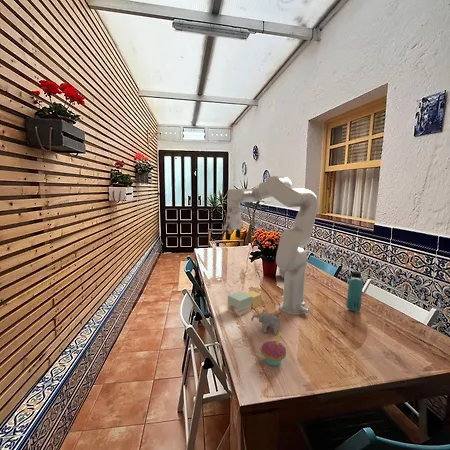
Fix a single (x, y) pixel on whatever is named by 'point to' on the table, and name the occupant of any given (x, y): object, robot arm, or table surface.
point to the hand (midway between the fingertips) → (233, 238)
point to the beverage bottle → (354, 292)
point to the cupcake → (273, 351)
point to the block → (254, 299)
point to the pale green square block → (239, 300)
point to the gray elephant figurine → (268, 321)
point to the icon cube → (282, 273)
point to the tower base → (239, 310)
